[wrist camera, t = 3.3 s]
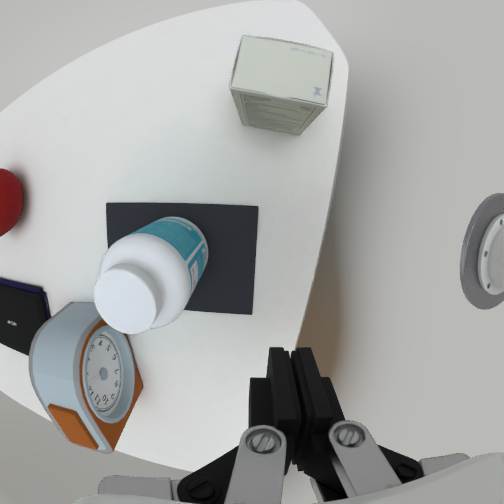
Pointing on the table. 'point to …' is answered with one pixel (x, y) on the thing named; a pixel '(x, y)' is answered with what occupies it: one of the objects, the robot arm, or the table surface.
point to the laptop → (21, 314)
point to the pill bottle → (150, 275)
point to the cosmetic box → (280, 83)
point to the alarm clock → (84, 376)
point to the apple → (9, 200)
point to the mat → (219, 248)
